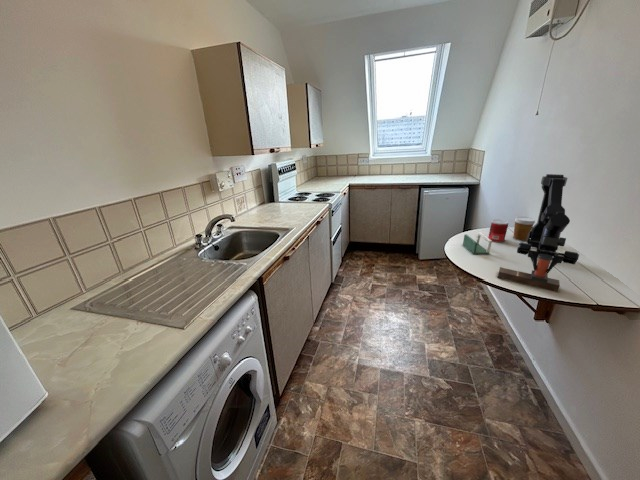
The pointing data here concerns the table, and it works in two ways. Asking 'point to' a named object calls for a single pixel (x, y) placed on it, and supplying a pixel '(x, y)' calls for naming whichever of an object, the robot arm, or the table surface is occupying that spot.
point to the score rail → (528, 279)
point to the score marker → (542, 268)
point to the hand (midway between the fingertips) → (541, 271)
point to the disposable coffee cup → (522, 227)
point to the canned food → (498, 230)
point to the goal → (476, 244)
